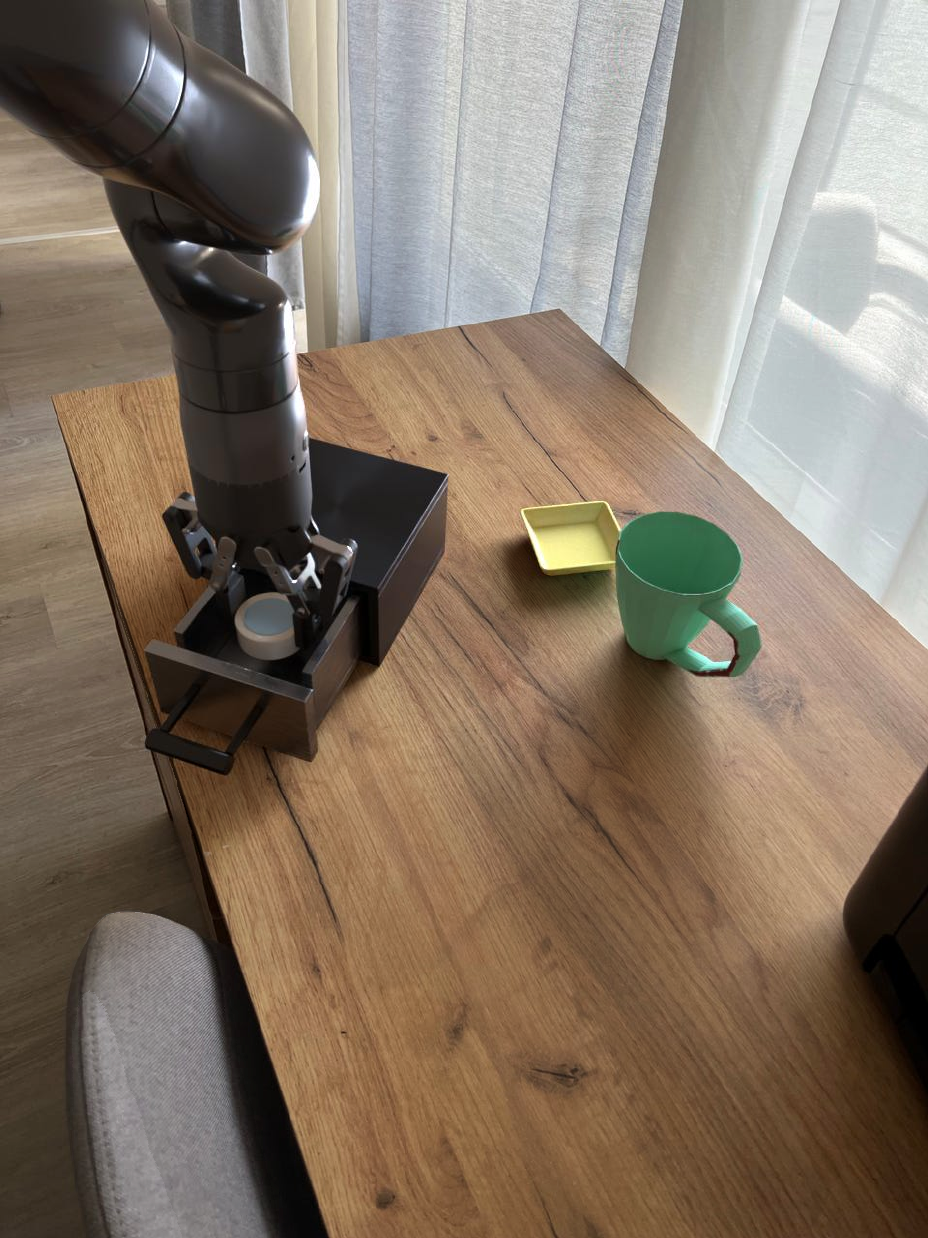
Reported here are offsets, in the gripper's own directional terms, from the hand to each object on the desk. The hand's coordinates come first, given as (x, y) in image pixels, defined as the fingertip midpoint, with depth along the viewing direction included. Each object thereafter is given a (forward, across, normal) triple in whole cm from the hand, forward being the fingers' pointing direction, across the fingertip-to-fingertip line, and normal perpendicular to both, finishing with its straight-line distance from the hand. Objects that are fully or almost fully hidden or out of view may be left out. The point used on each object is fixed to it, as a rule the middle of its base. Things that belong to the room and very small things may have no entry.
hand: (272, 629), depth 72 cm
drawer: (+5, 0, -3) cm, 6 cm away
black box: (+6, 0, +12) cm, 13 cm away
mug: (+6, +29, +14) cm, 33 cm away
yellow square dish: (+6, +18, +24) cm, 31 cm away
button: (+1, 0, 0) cm, 1 cm away
